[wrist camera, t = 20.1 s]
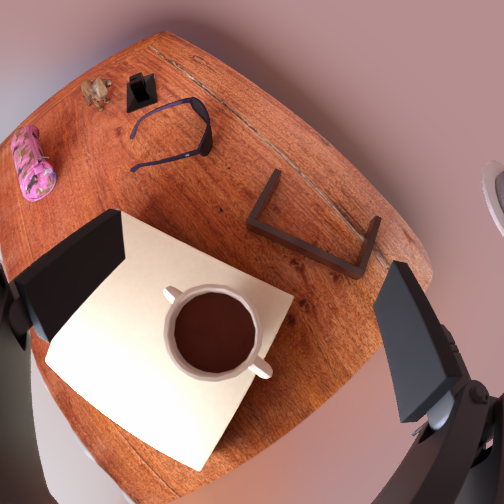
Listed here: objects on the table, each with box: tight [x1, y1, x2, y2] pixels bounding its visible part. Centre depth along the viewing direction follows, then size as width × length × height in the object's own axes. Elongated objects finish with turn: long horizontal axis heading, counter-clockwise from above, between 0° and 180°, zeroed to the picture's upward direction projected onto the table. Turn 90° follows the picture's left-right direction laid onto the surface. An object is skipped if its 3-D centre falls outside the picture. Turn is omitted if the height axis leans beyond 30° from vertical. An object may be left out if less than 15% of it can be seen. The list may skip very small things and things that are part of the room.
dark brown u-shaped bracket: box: [246, 169, 382, 280], centre depth 39 cm, size 18×10×2 cm, turn 64°
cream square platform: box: [45, 209, 294, 471], centre depth 33 cm, size 27×26×6 cm
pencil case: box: [11, 125, 57, 202], centre depth 41 cm, size 21×9×9 cm, turn 44°
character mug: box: [163, 283, 273, 382], centre depth 24 cm, size 11×7×13 cm, turn 51°
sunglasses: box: [130, 97, 213, 172], centre depth 43 cm, size 14×16×5 cm
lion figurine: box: [81, 77, 112, 111], centre depth 46 cm, size 15×5×9 cm, turn 60°
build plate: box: [127, 72, 158, 113], centre depth 48 cm, size 12×7×5 cm, turn 18°
